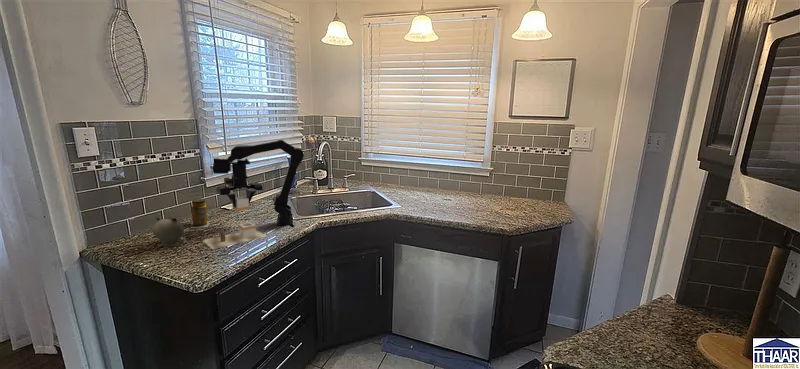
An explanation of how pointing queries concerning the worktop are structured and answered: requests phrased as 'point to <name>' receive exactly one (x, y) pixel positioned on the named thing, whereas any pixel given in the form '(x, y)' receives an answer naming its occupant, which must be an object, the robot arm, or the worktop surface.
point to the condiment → (199, 214)
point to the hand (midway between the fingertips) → (241, 206)
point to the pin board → (230, 239)
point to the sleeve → (241, 203)
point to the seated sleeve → (247, 230)
